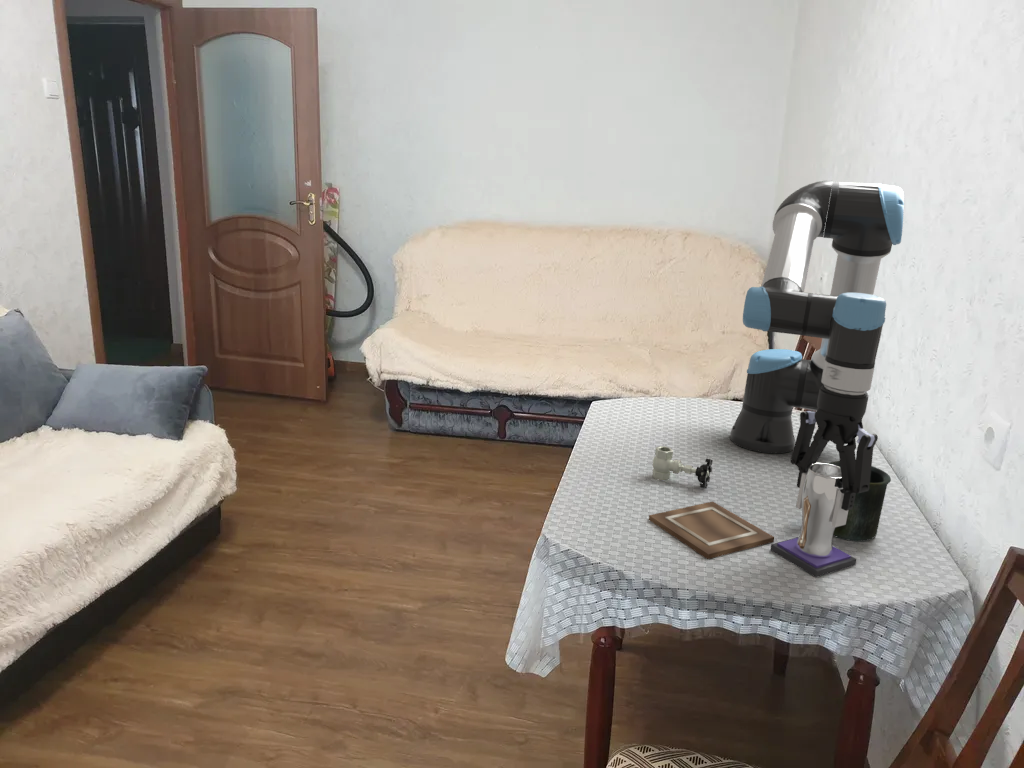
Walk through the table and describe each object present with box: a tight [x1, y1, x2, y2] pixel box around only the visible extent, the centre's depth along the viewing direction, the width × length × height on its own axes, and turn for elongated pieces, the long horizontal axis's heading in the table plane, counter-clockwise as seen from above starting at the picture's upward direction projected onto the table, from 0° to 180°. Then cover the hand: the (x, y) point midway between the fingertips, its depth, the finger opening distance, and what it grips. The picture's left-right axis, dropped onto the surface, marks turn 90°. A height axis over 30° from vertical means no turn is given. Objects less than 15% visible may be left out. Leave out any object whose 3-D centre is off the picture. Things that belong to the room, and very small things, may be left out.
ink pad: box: [769, 536, 858, 578], centre depth 135 cm, size 10×10×2 cm
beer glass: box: [796, 462, 843, 558], centre depth 133 cm, size 7×7×15 cm
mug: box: [827, 460, 892, 542], centre depth 146 cm, size 11×15×12 cm
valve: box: [651, 445, 713, 489], centre depth 164 cm, size 7×7×12 cm
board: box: [648, 501, 775, 560], centre depth 143 cm, size 16×16×1 cm
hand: (820, 515), depth 133 cm, fingers closed on beer glass, 7 cm apart
